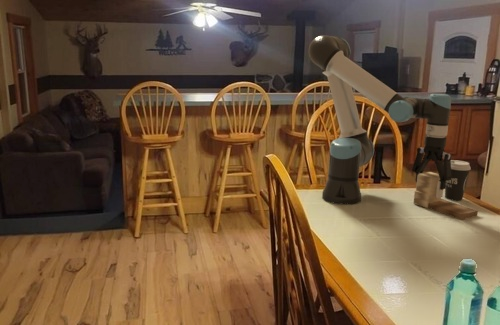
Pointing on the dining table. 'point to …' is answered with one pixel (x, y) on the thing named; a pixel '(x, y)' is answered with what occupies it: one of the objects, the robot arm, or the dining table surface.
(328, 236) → the dining table surface
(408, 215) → the dining table surface
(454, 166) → the coffee cup
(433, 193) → the tan block with peg
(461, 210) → the plank
